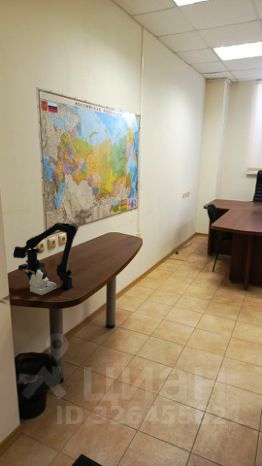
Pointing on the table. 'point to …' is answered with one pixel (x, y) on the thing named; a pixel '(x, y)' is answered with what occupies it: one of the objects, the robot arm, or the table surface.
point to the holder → (42, 291)
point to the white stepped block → (39, 279)
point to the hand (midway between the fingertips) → (32, 283)
